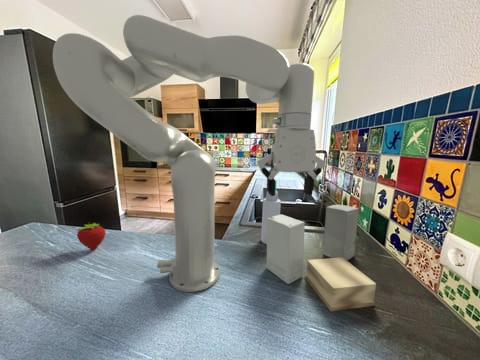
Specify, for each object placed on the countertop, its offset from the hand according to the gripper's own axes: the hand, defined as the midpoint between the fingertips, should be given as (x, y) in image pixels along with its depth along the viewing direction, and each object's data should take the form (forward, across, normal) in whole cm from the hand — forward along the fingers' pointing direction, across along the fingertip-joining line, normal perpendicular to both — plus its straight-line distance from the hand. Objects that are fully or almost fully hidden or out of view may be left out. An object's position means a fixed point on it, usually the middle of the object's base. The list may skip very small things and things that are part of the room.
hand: (289, 194), depth 47 cm
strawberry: (+21, -56, +17) cm, 62 cm away
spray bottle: (+22, +1, +17) cm, 27 cm away
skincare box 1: (+22, -1, 0) cm, 22 cm away
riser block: (+22, +9, -8) cm, 25 cm away
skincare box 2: (+22, +20, +6) cm, 30 cm away
